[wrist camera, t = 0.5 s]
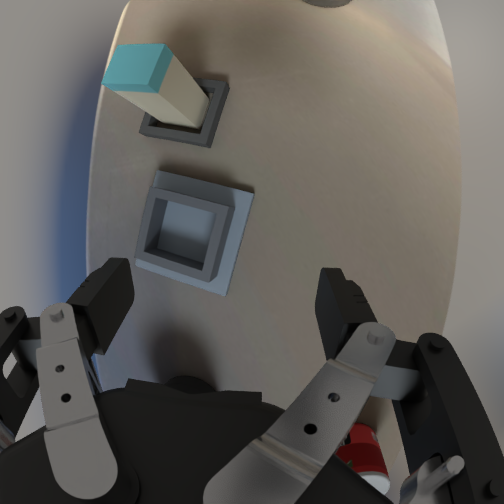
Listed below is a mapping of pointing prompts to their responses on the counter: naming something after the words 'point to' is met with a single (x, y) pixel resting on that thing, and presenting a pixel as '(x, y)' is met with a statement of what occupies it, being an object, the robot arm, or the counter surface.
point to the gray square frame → (209, 124)
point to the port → (192, 231)
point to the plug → (156, 84)
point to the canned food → (365, 456)
